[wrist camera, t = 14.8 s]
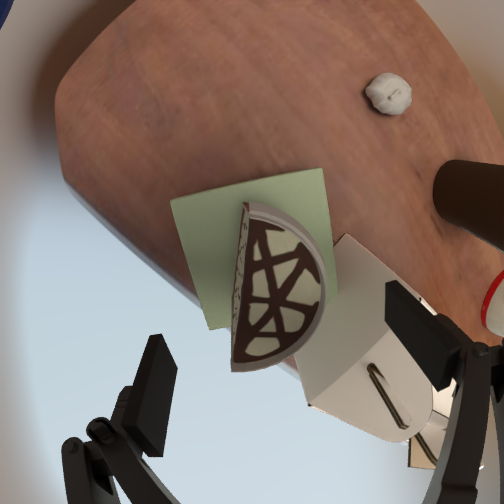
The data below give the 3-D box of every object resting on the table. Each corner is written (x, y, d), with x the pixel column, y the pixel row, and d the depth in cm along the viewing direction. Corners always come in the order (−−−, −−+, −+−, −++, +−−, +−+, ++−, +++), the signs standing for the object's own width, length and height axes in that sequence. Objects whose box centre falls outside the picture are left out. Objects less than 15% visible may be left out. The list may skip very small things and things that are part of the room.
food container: (289, 312, 30) (311, 379, 21) (230, 308, 30) (230, 377, 20) (311, 193, 26) (354, 220, 17) (243, 185, 26) (251, 207, 16)
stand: (213, 295, 38) (209, 330, 30) (183, 188, 33) (169, 200, 26) (319, 271, 38) (338, 301, 30) (302, 162, 33) (322, 167, 25)
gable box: (277, 306, 39) (332, 510, 13) (344, 230, 36) (505, 381, 10) (373, 367, 45) (443, 500, 18) (428, 312, 42) (530, 427, 15)
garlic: (365, 119, 31) (385, 116, 26) (355, 77, 29) (374, 68, 25) (404, 115, 31) (427, 112, 26) (395, 75, 29) (416, 68, 24)
